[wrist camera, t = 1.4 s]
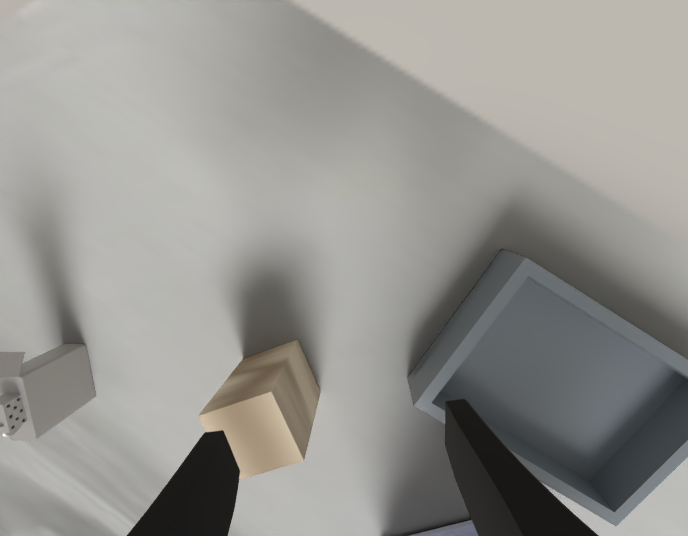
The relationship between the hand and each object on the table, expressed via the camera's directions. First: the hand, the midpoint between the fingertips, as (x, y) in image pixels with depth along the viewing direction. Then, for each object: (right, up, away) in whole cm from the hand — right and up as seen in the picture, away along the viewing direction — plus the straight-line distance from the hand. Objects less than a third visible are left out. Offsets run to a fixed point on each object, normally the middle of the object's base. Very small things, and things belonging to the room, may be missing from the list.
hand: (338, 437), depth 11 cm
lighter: (-18, 0, +12) cm, 22 cm away
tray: (+13, -1, +10) cm, 16 cm away
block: (-4, -2, +11) cm, 12 cm away
